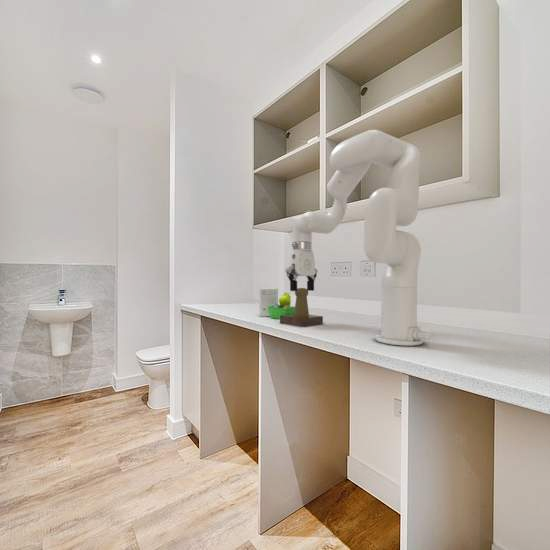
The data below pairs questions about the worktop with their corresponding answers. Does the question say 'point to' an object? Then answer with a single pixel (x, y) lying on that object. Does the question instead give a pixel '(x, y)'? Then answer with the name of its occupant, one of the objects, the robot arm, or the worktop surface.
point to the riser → (301, 320)
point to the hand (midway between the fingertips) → (302, 290)
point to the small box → (267, 300)
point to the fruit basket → (282, 307)
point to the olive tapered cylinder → (301, 303)
